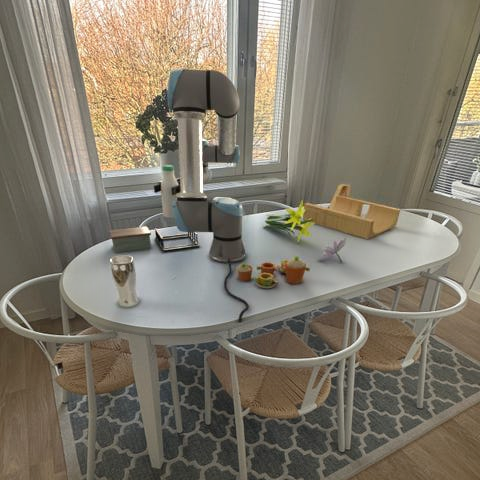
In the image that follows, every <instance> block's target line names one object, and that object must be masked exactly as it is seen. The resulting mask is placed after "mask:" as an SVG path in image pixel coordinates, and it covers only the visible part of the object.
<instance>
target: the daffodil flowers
mask: <svg viewBox="0 0 480 480" xmlns="http://www.w3.org/2000/svg"><path fill="white" fill-rule="evenodd" d="M303 201H304V200H301V201H300V203H299V205H298V207H297V210H296V211H295V210H293V209H291V208H285V210H286V212H287V213H286V214H266V215H265V216H266V219H265V220H264V222H265V224H267V225H264V226H263V225H262V227H263V229H279V230H281V231H285V232H287V233H288V235H289V237H290V238H291V233H292V234H294V235H296V233H295V232H294V231H293V230H295V231H298V233H297V243H299V241H300V239H301V236H302V235H304V236H305V237H311V232H310V230H308V228H309V227H311V226H313V225H315V224H316V223H315V222H313V223H312V222H310V221H312V220H313V219H309V220H307V221H306V220H303V221H302V217H303V214H304V213H306V212H305V209H304V202H303Z"/></svg>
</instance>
